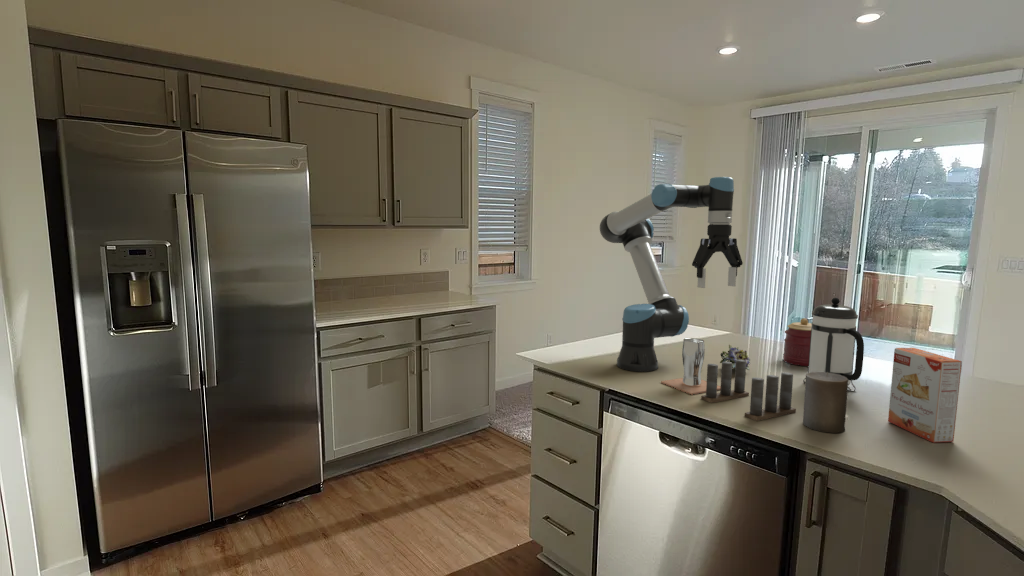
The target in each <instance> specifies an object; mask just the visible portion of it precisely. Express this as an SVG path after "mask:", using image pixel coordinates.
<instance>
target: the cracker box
mask: <svg viewBox="0 0 1024 576" xmlns="http://www.w3.org/2000/svg"><path fill="white" fill-rule="evenodd" d="M962 365H963V361H962V360H958V359H955V358H952V357H947V356H945V355H941V354H937V353H934V352H930V351H926V350H923V349H921V348H920V349H919V348H916V347H894V353H893V362H892V374H891V384H890V394H889V395H890V396H889V408H888V418H887V420H888V421H887V422H888V423H891V424H893V425H895V426H897V427H899V428H901V429H902V430H903V429H904V430H905V431H908V432H910V433H912V434H913V435H916V436H918V437H920V438H922V439H925V440H926V441H929V442H931V443H951V442H952V443H954V439H955V431H956V421H957V412H958V404H959V403H958V401H959V395H960V394H959V392H960V383H961V376H962Z"/></svg>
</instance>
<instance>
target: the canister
mask: <svg viewBox="0 0 1024 576" xmlns="http://www.w3.org/2000/svg"><path fill="white" fill-rule="evenodd" d="M811 326H812V322H811V323H810V322H809V320H808V318H801V319H800V321H799V322H798V321H797V322H796V321H795V322H791V323H790V324H788V325H787V329H785V330H784V333H785V338H783V339H784V346H783V354H782V355H783V356H782V359H783V361H784V362H785V363H787V364H790V365H794V366H799V365H800V366H803V367H808V365H809V352H810V338H811Z"/></svg>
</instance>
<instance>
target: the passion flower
mask: <svg viewBox="0 0 1024 576" xmlns="http://www.w3.org/2000/svg"><path fill="white" fill-rule="evenodd" d="M728 349H729V350H727V351H726V350H725V351H724V350H722V352H720V357H721V360H720V361H719V364H722V362H731V363H732V369H733V370H734V371H735V365H736V360H745V361H746V371H750V370H751V369H750V366H749V365H750V364H751V358H749V355H748V353H747V350H743V349H739V347H733V346H732V345H731V344H728Z"/></svg>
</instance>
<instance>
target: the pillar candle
mask: <svg viewBox="0 0 1024 576" xmlns="http://www.w3.org/2000/svg"><path fill="white" fill-rule="evenodd" d="M805 378H806V379H805V383H804V384H805V385H804V387H805V388H804V399H803V415H802V418H803V419H802V423H803V425H804V427H806V426H807V427H806V428H808V427H809V428H808V429H811V430H813V429H814V431H817V432H818V431H819V432H823V433H831V434H839V433H840V434H842V433H843V432H845V431H846V426H845V425H846V416H847V415H846V414H847V401H848V387H849V385H848V378H846V377H844V376H842V375H838V374H833V373H828V372H827V373H826V372H810V373H808V372H806V373H805Z"/></svg>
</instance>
